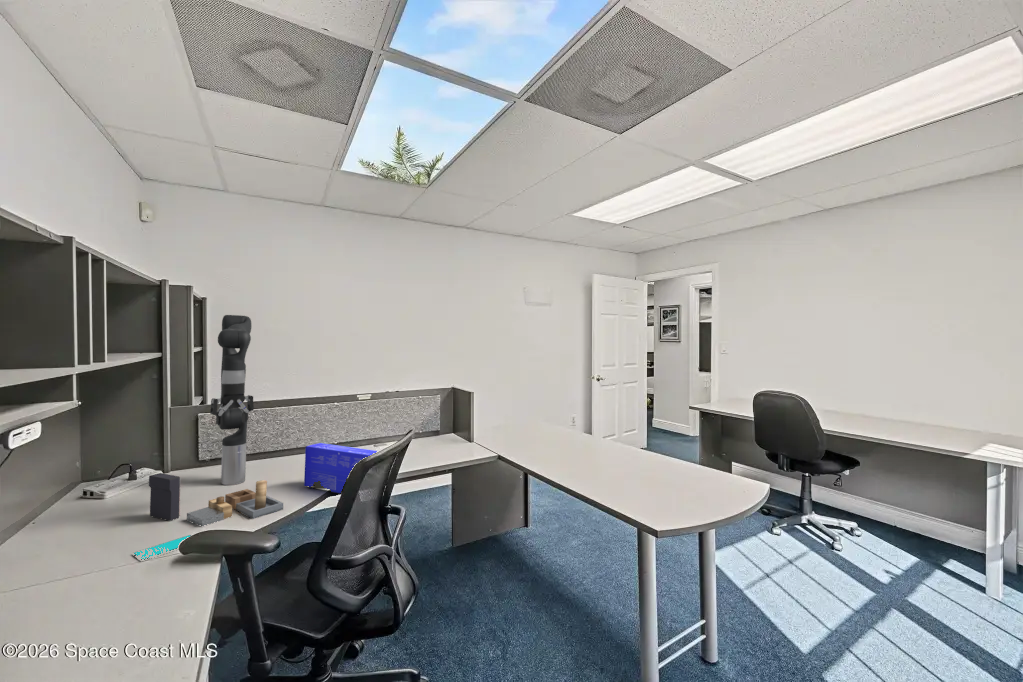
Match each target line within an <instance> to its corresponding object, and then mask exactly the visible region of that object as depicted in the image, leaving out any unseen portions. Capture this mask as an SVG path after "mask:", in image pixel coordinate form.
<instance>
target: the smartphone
mask: <svg viewBox="0 0 1023 682" xmlns="http://www.w3.org/2000/svg"><path fill="white" fill-rule="evenodd" d="M190 536H192V535H191V534H187V535H184V536H182V537H179V538H175V539H173V540H170V541H166V542H163V543H159V544H157V545H154V546H155V547H153V546H151V548H150V547H148V548H145V554H144V555H142V557H143V556H144V557H145V556H146V554H147V555H148V551H147V550H146V549H148V550H149V549H152V550H153V552H154V553H155V555H156V554H157V555H159V554H161V551H162V553H163V549H164V547H165V549H166V552H167V551H168V550H167V548H168V549H169V551H171V550H174V549H177V548H178V545H179V543H180V542H181V541H182V540H184V539H186V538H187V537H190ZM158 547H159V548H161V547H162V548H163V549H162V548H161V551H160V549H159V548H158ZM154 548H156V549H157V550H159V551H157V552H156V551H155V549H154ZM139 551H140V552H141V553H143V552H142V551H141V550H139ZM149 551H150V550H149ZM140 552H138V551H135V552H133V553H134V554H135V555H134V556H136V555H137V556H138V555H140ZM153 552H152V555H149V557H150V556H153ZM136 553H137V554H136ZM134 556H133V557H134ZM142 557H141V558H142ZM149 557H148V558H149ZM146 558H147V557H145V559H146ZM148 558H147V559H148ZM142 559H144V558H142ZM142 559H141V560H142ZM145 559H144V560H145ZM148 560H149V559H148ZM145 561H146V560H145Z"/></svg>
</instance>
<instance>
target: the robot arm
mask: <svg viewBox="0 0 1023 682" xmlns="http://www.w3.org/2000/svg"><path fill="white" fill-rule="evenodd" d="M251 332H252V319H251V318H250V317H249V316H247V315H241V314H240V315H237V314H225V315H223V317H222V321H221V331H220V332H219V334H218V336H217V343H218V345H219V346H220V347H221V348H222V355H221V369H220V370H221V371H220V377H221V378H220V391H221V392H220V398H216V397H215V398H212V399H211V401H210V411H209V413H210V415H214V416H215V424H216V425H217V426H218V427H219V429H220V430H221V431H222V430H223V431H226V430H237V431H236V432H234V433H232V434H230V435H228V436H227V435H226V436H225V437H224V438H222V441H221V472H220V473H221V475H220V477H221V478H220V484H221V485H225V486H234V485H237V484H242V483H244V482H245V481H246V474H247V473H246V469H247V467H246V466H247V431H248V420H249V412H251V411H252V412H253V411H254V409H255V407H254V405H255V404H254V395H251V394H248V395H246V396H245V391H246V389H245V388H246V387H245V386H246V385H245V384H246V371H247V369H246V367H247V365H246V363H245V362H246V355H247V352H248V349H249V347H250V343H251V340H252V337H251ZM236 349H237V350H238V349H239V350H238V351H237V350H236ZM244 402H246V405H245V403H244ZM218 405H219V407H218Z"/></svg>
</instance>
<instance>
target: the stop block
mask: <svg viewBox="0 0 1023 682" xmlns="http://www.w3.org/2000/svg"><path fill="white" fill-rule="evenodd" d="M207 504H208V506H207V507H210V508H213V509H216V510H219V511H221V512H224V520H225V519H228V517H229V518H232V517H233V508H232V505H230V504H228V503H226V502H225V496H218V497H216V498H212V499H209V500H208V503H207ZM231 516H232V517H231Z"/></svg>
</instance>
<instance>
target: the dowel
mask: <svg viewBox="0 0 1023 682" xmlns="http://www.w3.org/2000/svg"><path fill="white" fill-rule="evenodd" d="M267 487H268V481H267V480H263V479H262V480H258V481H256V482H255V493H256V494H255V510H258V509H261V508H265V507H266V496H267V492H268V491H267V490H268V489H267Z"/></svg>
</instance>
